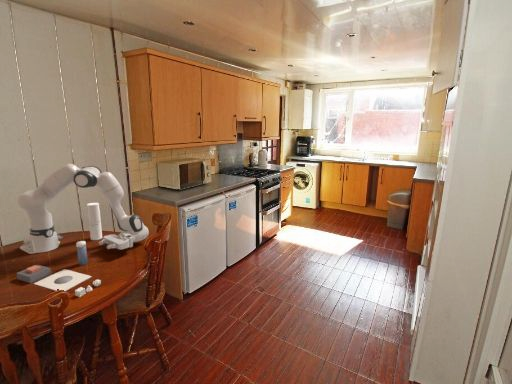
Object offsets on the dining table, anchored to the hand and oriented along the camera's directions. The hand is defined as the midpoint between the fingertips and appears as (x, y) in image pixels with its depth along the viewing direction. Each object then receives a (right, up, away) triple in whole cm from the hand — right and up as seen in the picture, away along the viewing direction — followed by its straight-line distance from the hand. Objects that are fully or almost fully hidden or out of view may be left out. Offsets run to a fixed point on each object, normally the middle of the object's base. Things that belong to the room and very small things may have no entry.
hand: (103, 245), depth 171 cm
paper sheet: (-6, -13, -26) cm, 30 cm away
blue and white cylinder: (-7, -9, -8) cm, 14 cm away
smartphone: (-52, 0, +29) cm, 59 cm away
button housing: (-23, -12, -23) cm, 35 cm away
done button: (-23, -10, -24) cm, 34 cm away
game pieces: (+12, -16, -33) cm, 39 cm away
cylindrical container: (-20, 0, +29) cm, 35 cm away
